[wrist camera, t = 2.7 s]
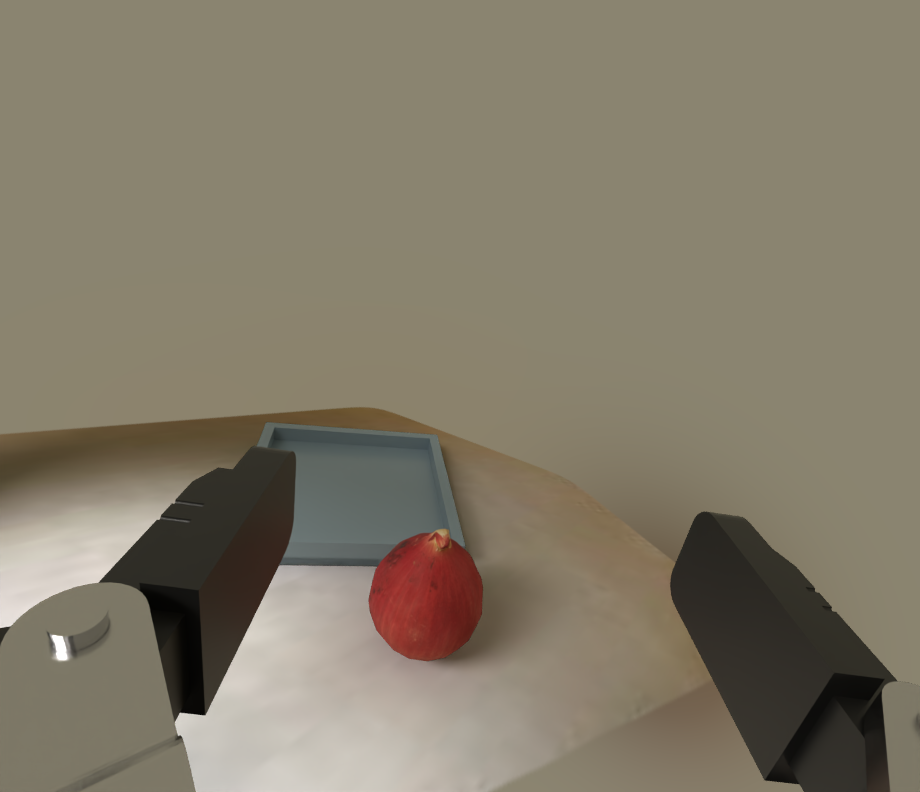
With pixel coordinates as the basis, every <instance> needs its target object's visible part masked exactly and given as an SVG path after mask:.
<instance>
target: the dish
mask: <svg viewBox="0 0 920 792" xmlns="http://www.w3.org/2000/svg"><path fill="white" fill-rule="evenodd" d="M257 446H259V447H266V448H273V449H280V450H287V451H293V452H294V453H295V455H296V479H295V503H294V522H293V528H292V533H291V537H290V541H289V544H288V547H287V550H286V552H285V554H284V556H283V558H282V560H281V562H280V564H279V565H339V566H378V565H379V564H380V562H381V561H382V560H383V559H384V558H385V556H386V555H387V554H388V553H389V552H390V551H391V550H392V549H393V548H394V547H395V546H396V545H397V544H398V543H400V542H401V541H403V540H405V539H408V538H410V537H413V536H415V535H417V534H420V533H432V532H434V531H436V530H439V529H448V530H449V535H450V538H451V539H453V540H455V541H456V542H457V543H458V544H459V545H461V546H462V547H463V548H464V549H465V542H464V538H463V534H462V530H461V526H460V523H459V519H458V515H457V511H456V507H455V503H454V499H453V495H452V491H451V487H450V483H449V479H448V475H447V471H446V468H445V464H444V460H443V456H442V452H441V448H440V444H439V440H438V436H437V435H432V434H418V433H405V432H391V431H378V430H364V429H351V428H337V427H324V426H310V425H297V424H283V423H270V422H266V424H265V427H264V429H263V432H262V434H261V437H260V439H259V442H258V444H257Z"/></svg>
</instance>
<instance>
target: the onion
mask: <svg viewBox="0 0 920 792" xmlns="http://www.w3.org/2000/svg"><path fill="white" fill-rule="evenodd" d="M482 596H483V585H482V580H481V576H480V574H479V572H478V570H477V568H476V566H475V564H474V561H473V559H472V557H471V556H470V554H469V553H468V552H467V551H466V550H465V549H464V548H463V547H462V546H461V545H459V544H458V543H457V542H456V541H455V540H453V539H451V538H450V535H449V530H448V529H439V530H436V531H434V532H432V533H420V534H417V535H415V536H413V537H410V538H408V539H405V540H403V541H401V542H400V543H398V544H397V545H396V546H395V547H394V548H393V549H392V550H391V551H390V552H389V553H388V554H387V555H386V556H385V558H384V559H383V560H382V561H381V562H380V564H379V565H378V567H377V568H376V570H375V574H374V578H373V582H372V586H371V591H370V595H369V608H370V613H371V616H372V619H373V622H374V625H375V627H376V630H377V631H378V633H379V634H380V635H381V636H382V637H383V639H384V640H385V641H386V642H387V643H388V644H389V645H390V647H391V648H392V649H393V650H394V651H396V652H398V653H400V654H402V655H403V656H405V657H407V658H409V659H416V660H423V661H430V660H435V659H440V658H445V657H447V656H448V655H450V654H451V653H453V652H454V651H456V650H457V649H459V648H460V647H461V646H463V645H464V644H465V643H466V642H467V641H469V639H470V637H471V635H472V633H473V631H474V630H475V628H476V626H477V624H478V621H479V619H480V617H481V615H482Z"/></svg>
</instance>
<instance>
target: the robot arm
mask: <svg viewBox="0 0 920 792" xmlns="http://www.w3.org/2000/svg"><path fill="white" fill-rule="evenodd" d="M295 479H296V455H295V453H294V452H293V451H287V450H280V449H273V448H266V447H259V446H253V447H251V448H250V449H249V450H248V452H247V453H246V454H245V455H244V456H243V458H242V459H241V460H240V461H239V463H238V464H237V465H236V466H235V467H234V469H233V470H232V469H225V468H217V469H215V470H213V471H211V472H209V473H208V474H206V475H204V476H202V477H200V478H198V479H196V480H194V481H193V482H192V483H191V484H190V485H189V486H188V487H187V488H186V489H185V490H184V491H183V492H182V493H181V495H180V496H179V497H178V498H177V499H176V501H175V504H171V505H170V506H169V507H168V509H167V510H166V511H165V512H164V513H163V514H162V515H161V518H160V520H156V521H155V522H154V524H153V525H152V526H151V527H150V528H149V529H148V530H147V531H146V532H145V533H144V534H143V535H142V536H141V538H140V539H139V540H138V541H137V542H136V543H135V544H134V545H133V546H132V547H131V548H130V549H129V550H128V552H127V553H126V554H125V555H124V556H123V557H122V558H121V559H120V560H119V561H118V562H117V563H116V564H115V565H114V567H113V568H112V569H111V570H110V571H109V572H108V573H107V574H106V575H105V576H104V577H103V578H102V579H101V581H100V582H99V583H94V584H87V585H83V586H78V587H75V588H72V589H69V590H65V591H63V592H60V593H58V594H56V595H53V596H51V597H49V598H47V599H46V600H44V601H42V602H40V603H39V604H37V605H35V606H34V607H32V608H31V609H29V610H28V611H27V612H26V613H24V614H23V615H22V616H21V617H20V618H19V619H18V620H17V621H16V622H15V623H14V624H13V625H12V626H10V627H4V628H0V792H196V791H195V787H194V782H193V778H192V773H191V769H190V765H189V760H188V756H187V752H186V748H185V745H184V742H183V739H182V737H181V736H178V735H177V731H176V727H175V721H176V719H177V717H178V715H179V713H188V714H197V715H206V713H207V711H208V709H209V707H210V705H211V703H212V701H213V699H214V697H215V695H216V693H217V691H218V689H219V687H220V684H221V682H222V680H223V678H224V676H225V674H226V672H227V670H228V668H229V666H230V664H231V662H232V660H233V658H234V656H235V654H236V652H237V650H238V648H239V646H240V644H241V642H242V640H243V638H244V636H245V634H246V631H247V629H248V627H249V625H250V623H251V621H252V619H253V617H254V615H255V613H256V611H257V609H258V607H259V605H260V603H261V601H262V599H263V597H264V595H265V593H266V591H267V589H268V587H269V585H270V583H271V581H272V578H273V576H274V574H275V572H276V570H277V568H278V566H279V564H280V562H281V560H282V558H283V556H284V554H285V552H286V550H287V547H288V544H289V541H290V537H291V533H292V528H293V522H294V503H295ZM670 587H671V596H672V600H673V603H674V605H675V607H676V609H677V611H678V613H679V615H680V617H681V619H682V621H683V622H684V624H685V626H686V628H687V630H688V632H689V634H690V636H691V638H692V640H693V642H694V644H695V646H696V648H697V650H698V652H699V654H700V656H701V657H702V659H703V661H704V663H705V665H706V667H707V669H708V671H709V673H710V675H711V677H712V679H713V681H714V683H715V685H716V687H717V688H718V691H719V692H720V694H721V696H722V698H723V700H724V702H725V704H726V706H727V708H728V710H729V712H730V714H731V716H732V718H733V720H734V722H735V724H736V726H737V728H738V729H739V731H740V733H741V735H742V737H743V739H744V741H745V743H746V745H747V747H748V749H749V751H750V753H751V755H752V757H753V758H754V760H755V762H756V765H757V766H758V768H759V770H760V772H761V774H762V776H763V778H764V780H766V781H775V782H784V783H792V784H800V786H801V787H802V789H803V791H804V792H920V686H918V685H915V684H912V683H907V682H901V681H897V680H896V679H895V678H894V677H893V675H892V674H891V673H890V672H889V671H888V670H887V669H886V667H885V666H884V665H883V664H882V663H881V662H880V661H879V660H878V658H877V657H876V656H875V655H874V654H873V653H872V652H871V651H870V649H868V647H867V646H866V645H865V644H864V643H863V642H862V641H861V639H860V638H859V637H858V636H857V635H856V634H855V633H854V632H853V630H852V629H851V628H850V627H849V626H848V625H847V624H846V623H845V622H844V620H843V619H842V618H841V617H840V616H839V615H838V614H837V612H833V611H832V610H831V608H832V607H831V606H830V605H829V603H828V602H827V601H826V600H825V599H824V598H823V597H822V596H821V594H820V593H817V592H815V588H814V587H813V585H812V584H811V583H810V582H809V581H808V580H807V579H806V578H805V577H804V575H803V574H802V573H801V572H800V571H799V570H798V569H797V567H796V566H794V565H793V564H792V563H790V562H789V561H788V560H786V559H785V558H784V557H783V556H781V555H780V554H779V553H777V552H776V551H774V550H773V549H772V548H771V547H770V546H769V545H768V544H767V542H766V541H765V540H764V539H763V538H762V537H761V536H760V534H759V533H758V532H757V531H756V530H755V529H754V527H753V526H752V525H751V524H750V523H749V522H748V521H747V520H746V519H745V518H743V517H739V516H732V515H725V514H718V513H711V512H701V513H700V514H698V515H697V516H696V517H695V519H694V521H693V523H692V525H691V528H690V530H689V533H688V535H687V538H686V540H685V542H684V545H683V547H682V550H681V552H680V554H679V556H678V559H677V561H676V564H675V566H674V568H673V571H672V575H671V582H670Z"/></svg>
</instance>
